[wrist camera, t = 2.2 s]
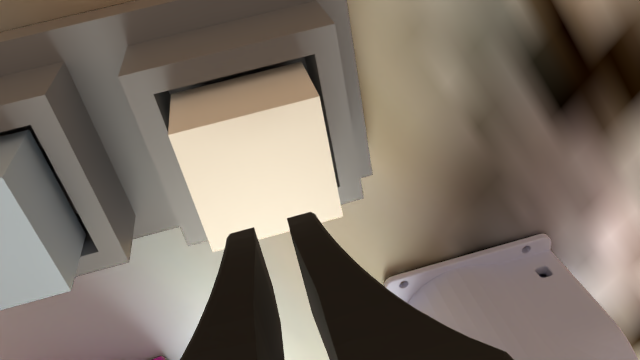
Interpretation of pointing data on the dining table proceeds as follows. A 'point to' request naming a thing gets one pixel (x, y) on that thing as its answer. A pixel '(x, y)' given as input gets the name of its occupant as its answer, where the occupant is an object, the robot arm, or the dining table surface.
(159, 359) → the candy bar box
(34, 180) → the light gray key
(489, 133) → the dining table surface
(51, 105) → the key panel
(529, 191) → the dining table surface
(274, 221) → the cream key
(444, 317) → the robot arm
